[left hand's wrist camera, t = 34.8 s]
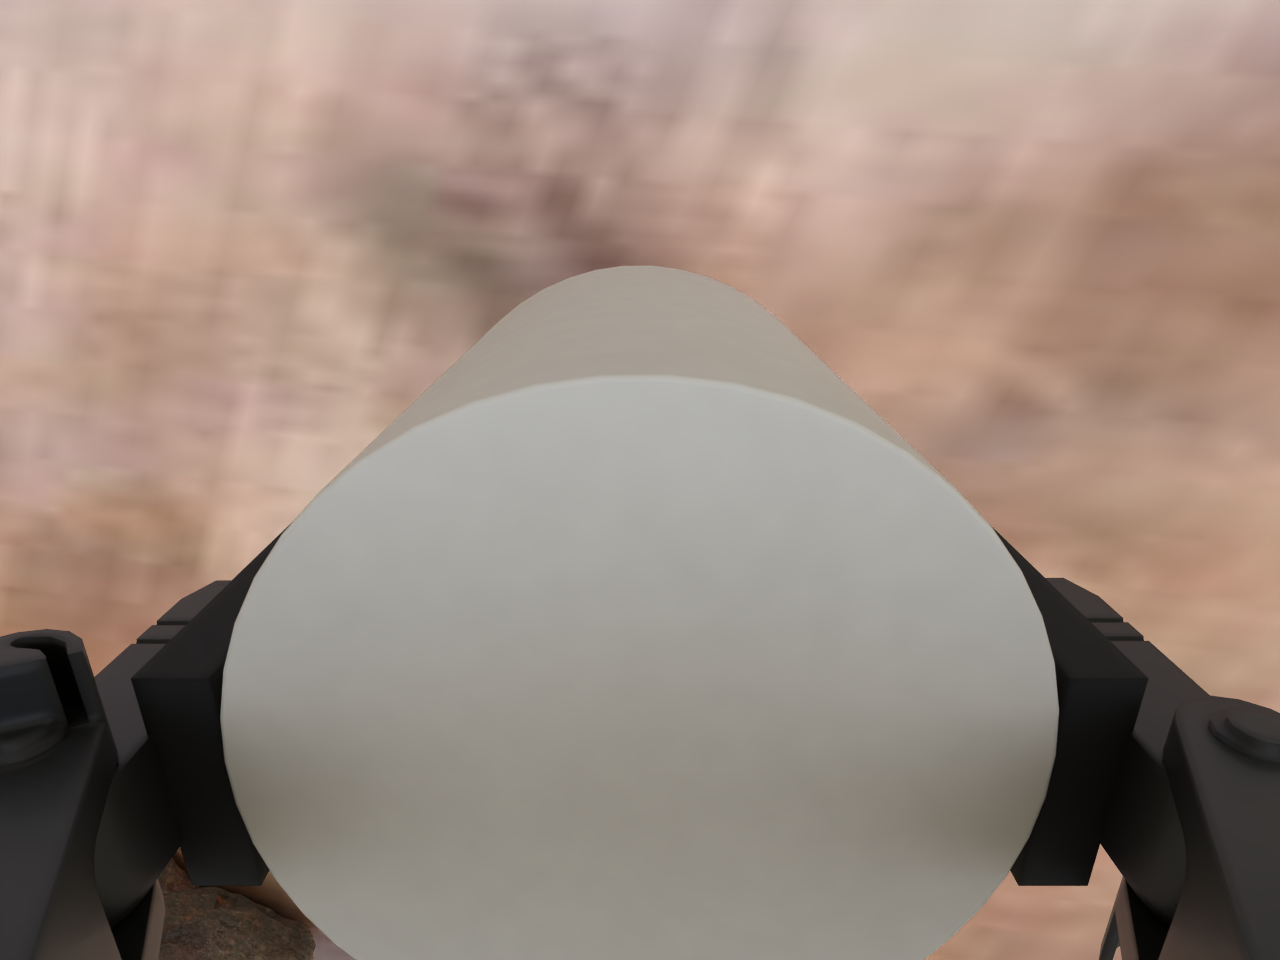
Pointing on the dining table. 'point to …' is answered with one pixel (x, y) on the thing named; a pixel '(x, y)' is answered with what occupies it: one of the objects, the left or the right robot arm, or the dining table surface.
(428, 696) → the can
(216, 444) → the dining table surface
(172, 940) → the rock
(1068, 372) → the dining table surface
